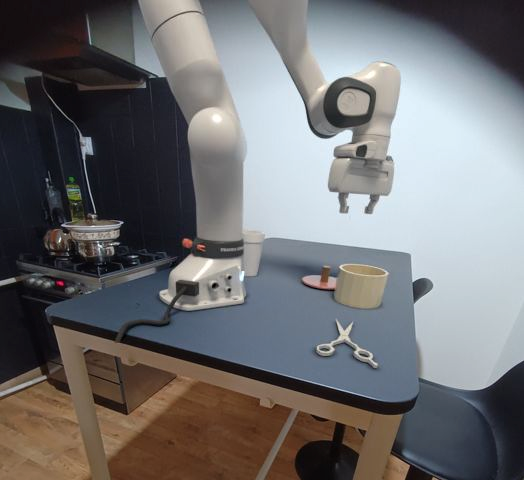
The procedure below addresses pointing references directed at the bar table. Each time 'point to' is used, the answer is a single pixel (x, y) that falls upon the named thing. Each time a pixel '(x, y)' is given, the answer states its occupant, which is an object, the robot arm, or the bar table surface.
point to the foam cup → (252, 251)
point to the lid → (321, 279)
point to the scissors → (346, 339)
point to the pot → (360, 286)
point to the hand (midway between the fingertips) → (356, 213)
